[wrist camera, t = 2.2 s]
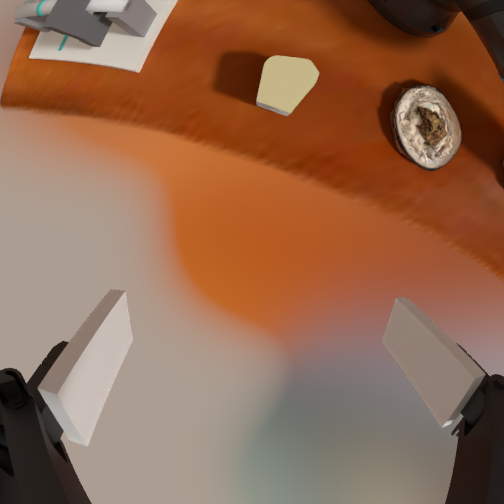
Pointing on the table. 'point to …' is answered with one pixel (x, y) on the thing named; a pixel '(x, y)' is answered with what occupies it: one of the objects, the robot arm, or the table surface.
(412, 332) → the robot arm
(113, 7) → the pipe rig
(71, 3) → the collar
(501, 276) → the table surface
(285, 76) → the beige layered block
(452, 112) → the white shallow bowl
